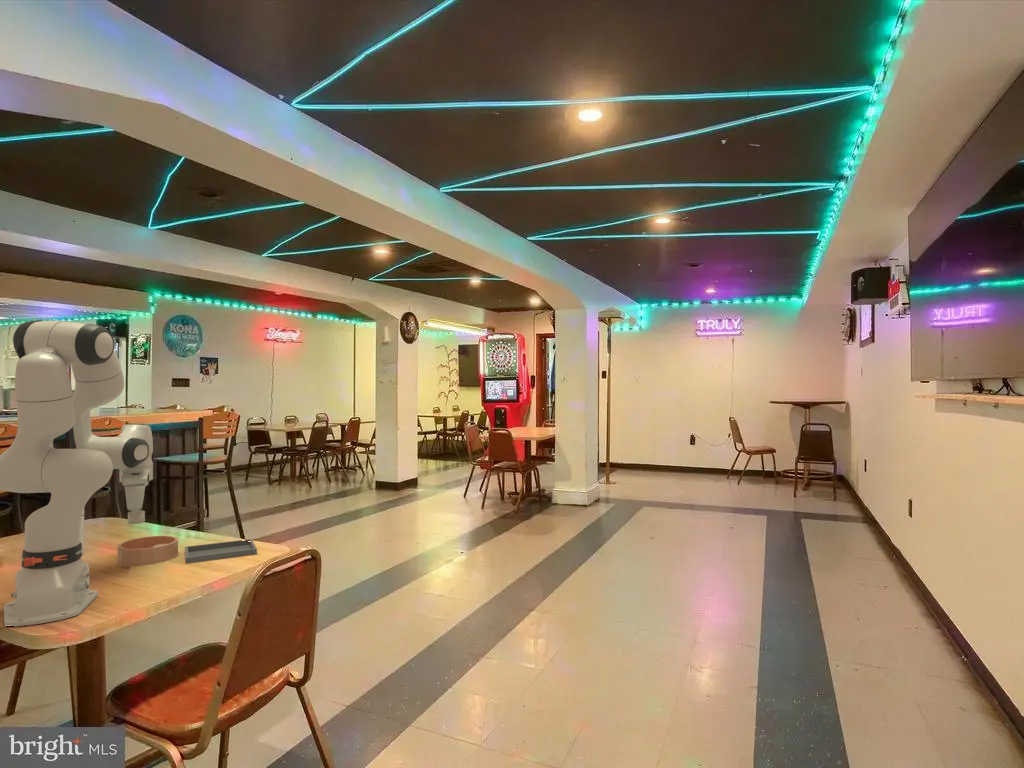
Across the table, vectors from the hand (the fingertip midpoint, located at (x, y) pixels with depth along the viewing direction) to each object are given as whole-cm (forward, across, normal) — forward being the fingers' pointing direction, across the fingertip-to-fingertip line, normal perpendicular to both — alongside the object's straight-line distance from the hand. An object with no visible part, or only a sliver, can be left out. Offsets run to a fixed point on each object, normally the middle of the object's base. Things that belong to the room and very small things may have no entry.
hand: (136, 518), depth 182 cm
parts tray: (+13, +6, +23) cm, 28 cm away
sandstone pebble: (+12, 0, +7) cm, 14 cm away
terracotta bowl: (+13, 0, +3) cm, 14 cm away
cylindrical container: (+14, -18, -19) cm, 29 cm away
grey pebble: (+1, 0, 0) cm, 1 cm away
